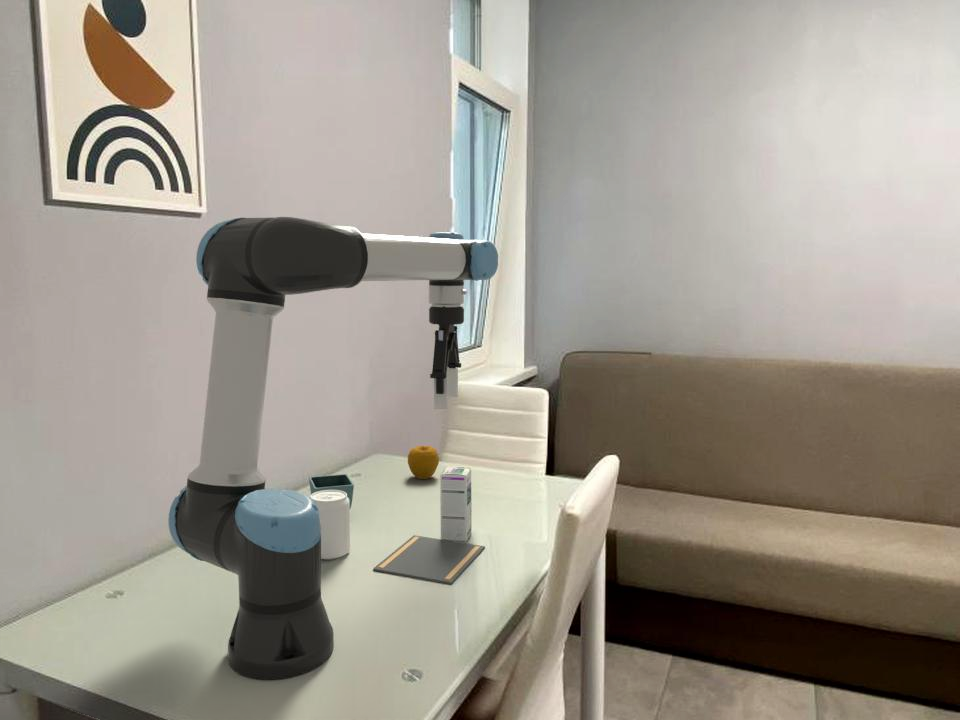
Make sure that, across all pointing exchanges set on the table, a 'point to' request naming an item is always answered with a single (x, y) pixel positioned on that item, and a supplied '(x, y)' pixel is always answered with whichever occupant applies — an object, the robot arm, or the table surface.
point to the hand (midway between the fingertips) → (446, 402)
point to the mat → (430, 559)
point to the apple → (423, 461)
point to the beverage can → (333, 522)
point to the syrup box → (455, 503)
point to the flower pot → (332, 484)
